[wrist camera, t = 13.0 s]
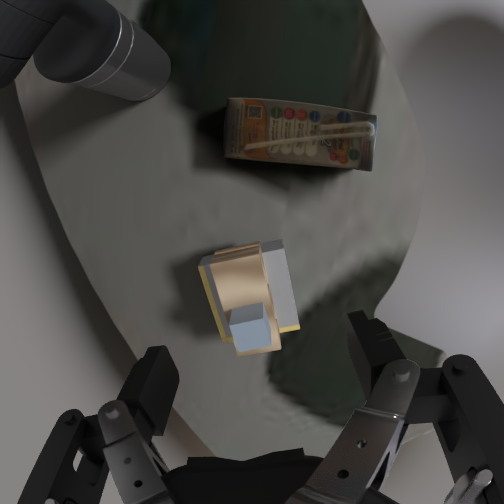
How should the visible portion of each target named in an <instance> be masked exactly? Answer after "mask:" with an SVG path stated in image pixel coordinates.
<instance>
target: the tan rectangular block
mask: <svg viewBox="0 0 504 504" xmlns="http://www.w3.org/2000/svg"><path fill="white" fill-rule="evenodd" d="M214 254H215V255H214V258H213V259H212V260H211V262H210V267H211V271H212V274H213V278H214V281H215V284H216V288H217V291H218V294H219V297H220V301H221V304H222V307H223V310H224V313H225V317H226V320H227V323H228V326H229V323H230V318H231V312H232V309H233V308H237V307H242V306H246V305H251V304H255V303H259V302H263V304H264V307H265V310H266V313H267V317H268V320H269V323H270V327H271V345H272V346H268V347H263V348H258V349H253V350H248V351H243V352H239V350H238V348H237V345H236V343H235V340H234V337H233V335H232V332H231V330H230V332H231V336H232V339H233V342H234V345H235V348H236V351H237V354H238V356H244V355H250V354H257V353H263V352H269V351H274V350H280V349H281V341H280V329H279V325H278V321H277V316H276V312H275V307H274V303H273V299H272V294H271V290H270V286H269V281H268V277H267V273H266V268H265V264H264V260H263V255H262V251H261V247H260V242H255V243H250V244H245V245H241V246H236V247H231V248H227V249H222V250H217V251H215V253H214ZM229 329H230V327H229Z"/></svg>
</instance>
